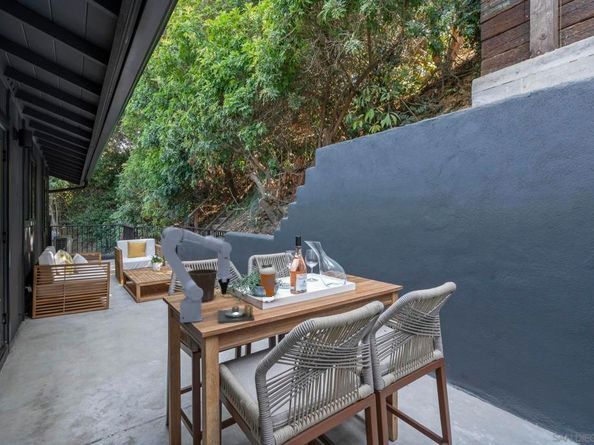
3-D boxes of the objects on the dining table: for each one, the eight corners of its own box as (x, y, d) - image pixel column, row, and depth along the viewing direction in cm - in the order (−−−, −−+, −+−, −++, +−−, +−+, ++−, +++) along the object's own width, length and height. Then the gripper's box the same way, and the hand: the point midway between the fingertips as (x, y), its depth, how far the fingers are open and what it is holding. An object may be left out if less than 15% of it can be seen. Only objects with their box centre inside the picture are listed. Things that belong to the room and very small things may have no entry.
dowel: (246, 317, 148) (246, 307, 148) (246, 316, 149) (246, 306, 149) (250, 316, 148) (250, 307, 148) (250, 315, 150) (250, 306, 150)
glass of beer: (256, 300, 180) (256, 264, 179) (269, 297, 186) (269, 263, 185) (265, 304, 173) (265, 266, 172) (279, 301, 179) (278, 265, 178)
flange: (220, 315, 149) (220, 306, 149) (230, 309, 158) (230, 300, 158) (247, 318, 145) (247, 308, 145) (256, 311, 155) (256, 302, 155)
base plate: (218, 323, 143) (218, 321, 143) (218, 312, 158) (217, 310, 158) (254, 320, 147) (254, 318, 146) (250, 310, 162) (250, 307, 162)
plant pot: (217, 295, 192) (217, 268, 192) (218, 302, 177) (217, 273, 176) (188, 297, 188) (188, 269, 188) (186, 304, 172) (186, 274, 172)
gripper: (232, 268, 151) (233, 297, 152) (231, 263, 165) (231, 289, 166) (217, 269, 149) (217, 298, 150) (217, 264, 163) (217, 290, 164)
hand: (224, 293), depth 158 cm, fingers closed
